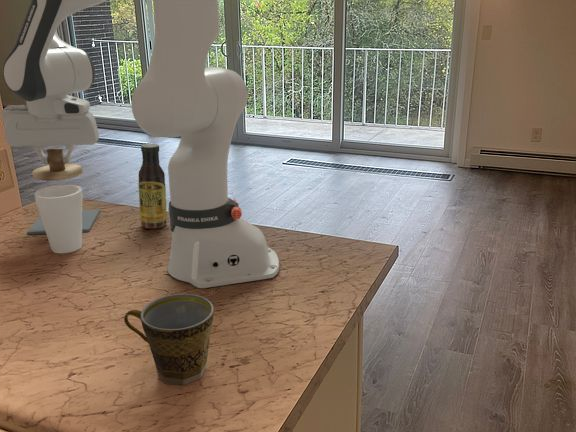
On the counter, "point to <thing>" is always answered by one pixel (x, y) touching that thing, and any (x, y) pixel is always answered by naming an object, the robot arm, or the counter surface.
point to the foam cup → (61, 216)
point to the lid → (57, 167)
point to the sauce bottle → (152, 189)
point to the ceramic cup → (177, 335)
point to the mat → (87, 222)
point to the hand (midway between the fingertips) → (56, 163)
